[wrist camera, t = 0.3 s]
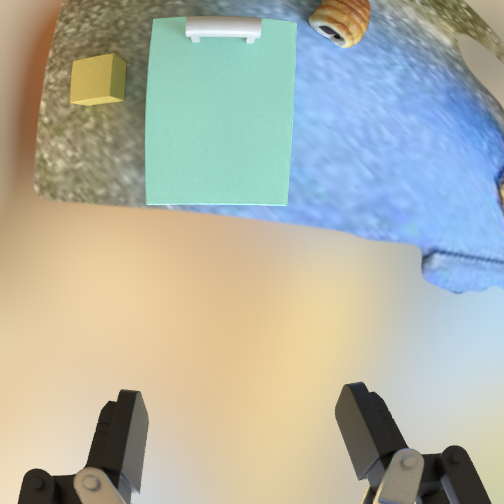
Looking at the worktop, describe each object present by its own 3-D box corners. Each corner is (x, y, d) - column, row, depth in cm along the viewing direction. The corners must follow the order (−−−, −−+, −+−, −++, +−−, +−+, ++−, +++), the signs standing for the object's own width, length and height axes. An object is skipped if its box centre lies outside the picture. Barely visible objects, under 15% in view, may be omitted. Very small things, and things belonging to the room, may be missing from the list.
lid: (154, 21, 19) (142, 0, 15) (294, 24, 21) (309, 4, 16) (148, 203, 26) (133, 217, 21) (285, 204, 27) (299, 218, 23)
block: (90, 68, 27) (73, 61, 22) (126, 62, 27) (113, 52, 23) (87, 105, 29) (69, 102, 24) (124, 100, 29) (109, 96, 25)
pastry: (335, -16, 25) (346, -27, 22) (376, 13, 27) (389, 5, 24) (302, 25, 28) (311, 14, 24) (346, 55, 30) (359, 49, 26)
